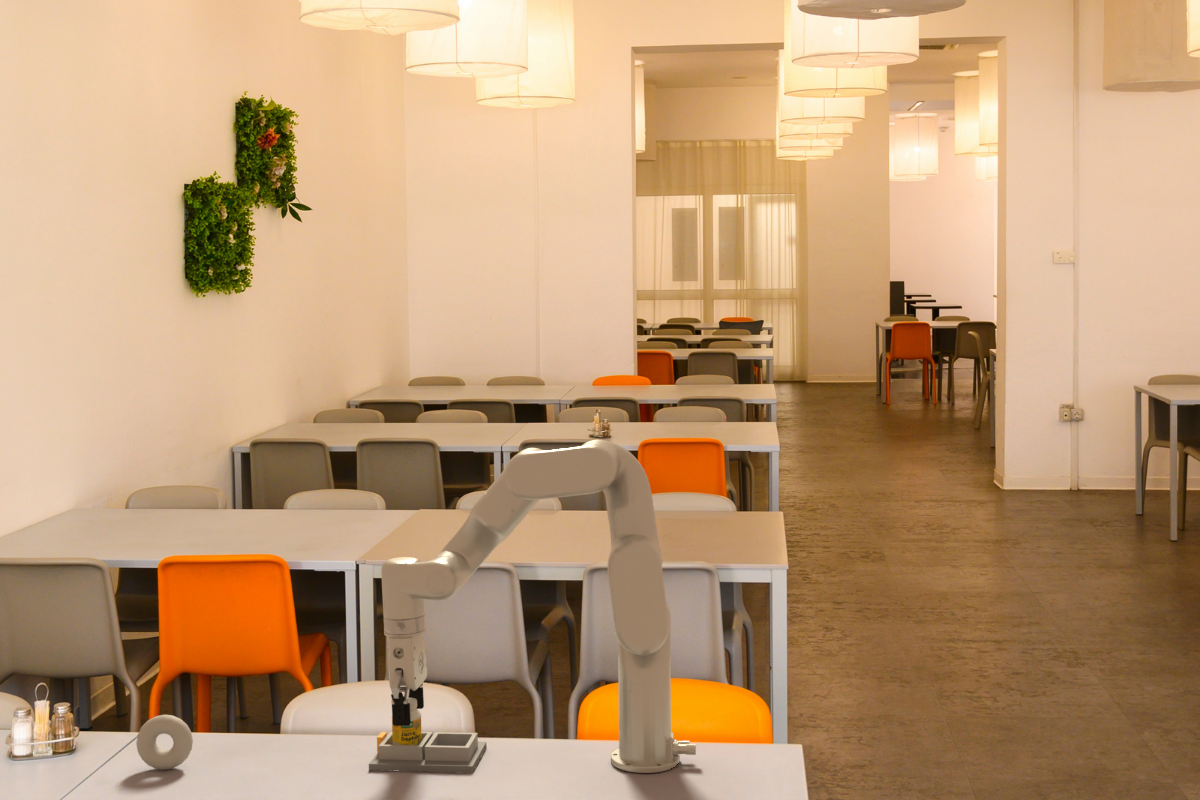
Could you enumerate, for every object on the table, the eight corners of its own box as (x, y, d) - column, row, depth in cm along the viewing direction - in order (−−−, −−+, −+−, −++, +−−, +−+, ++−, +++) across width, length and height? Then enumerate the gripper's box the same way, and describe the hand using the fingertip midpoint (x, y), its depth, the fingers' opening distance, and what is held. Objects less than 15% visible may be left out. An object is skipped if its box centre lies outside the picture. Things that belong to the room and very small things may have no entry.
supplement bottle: (414, 744, 222) (413, 694, 222) (426, 752, 218) (425, 701, 217) (387, 750, 219) (387, 699, 219) (399, 758, 215) (398, 706, 214)
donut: (196, 765, 216) (194, 711, 216) (190, 771, 213) (188, 717, 213) (141, 766, 216) (139, 712, 216) (134, 773, 213) (132, 718, 212)
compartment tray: (486, 747, 224) (486, 725, 223) (472, 772, 211) (472, 748, 210) (388, 745, 225) (388, 723, 225) (368, 770, 212) (368, 746, 212)
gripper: (412, 636, 208) (416, 732, 209) (435, 614, 225) (439, 702, 226) (371, 637, 209) (375, 732, 210) (397, 614, 226) (401, 702, 227)
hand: (408, 716), depth 218 cm, fingers open, 9 cm apart
